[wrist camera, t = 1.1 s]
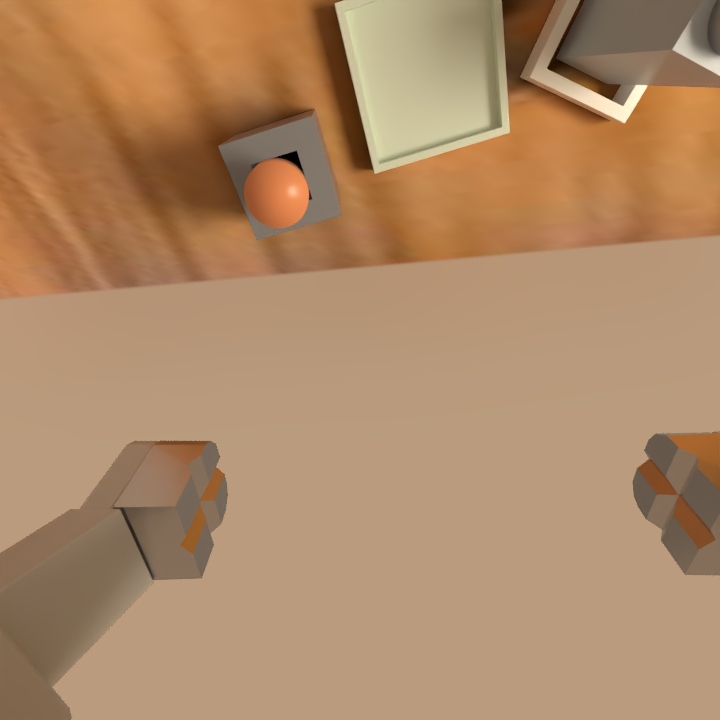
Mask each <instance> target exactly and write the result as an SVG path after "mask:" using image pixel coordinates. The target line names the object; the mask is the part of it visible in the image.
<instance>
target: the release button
mask: <svg viewBox="0 0 720 720" xmlns="http://www.w3.org/2000/svg"><path fill="white" fill-rule="evenodd" d="M244 198H245V202H246V205H247V207H248V209H249V211H250V212H251V214H252V215H253V216H254V217H255V218H256V219H257V220H258V221H259V222H261V223H263V224H264V225H267V226H269V227H273V228H285V227H289V226H292V225H294V224H295V223H297V222H298V221H299V220H300V219H301V218H302V217H303V215H304V213H305V212H306V209H307V206H308V201H309V186H308V182H307V180H306V178H305V176H304V174H303V173H302V170H301V168H300V166H299V164H298V163H297V162H296V161H294V160H293V159H291V158H288V157H279V158H270V159H266V160H264V161H262V162H260V163H259V164H258V165H256V166H255V167H254V169H253V170H252V171H251V172H250V174H249V175H248V177H247V179H246V182H245V186H244Z"/></svg>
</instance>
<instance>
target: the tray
mask: <svg viewBox="0 0 720 720" xmlns="http://www.w3.org/2000/svg"><path fill="white" fill-rule="evenodd" d="M335 11H336V15H337V19H338V24H339V28H340V32H341V36H342V41H343V45H344V49H345V53H346V58H347V62H348V66H349V70H350V75H351V79H352V83H353V87H354V92H355V96H356V100H357V104H358V109H359V113H360V117H361V121H362V126H363V130H364V134H365V138H366V143H367V147H368V151H369V155H370V159H371V164H372V168H373V171H374V173H379V172H382V171H385V170H388V169H392V168H395V167H398V166H402V165H405V164H408V163H411V162H415V161H418V160H421V159H425V158H428V157H431V156H435V155H438V154H441V153H444V152H448V151H451V150H454V149H458V148H461V147H464V146H467V145H471V144H474V143H477V142H481V141H484V140H487V139H491V138H494V137H497V136H500V135H504V134H507V133H510V127H509V111H508V94H507V78H506V61H505V45H504V28H503V12H502V0H343V1H340V2H338V3H335Z"/></svg>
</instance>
